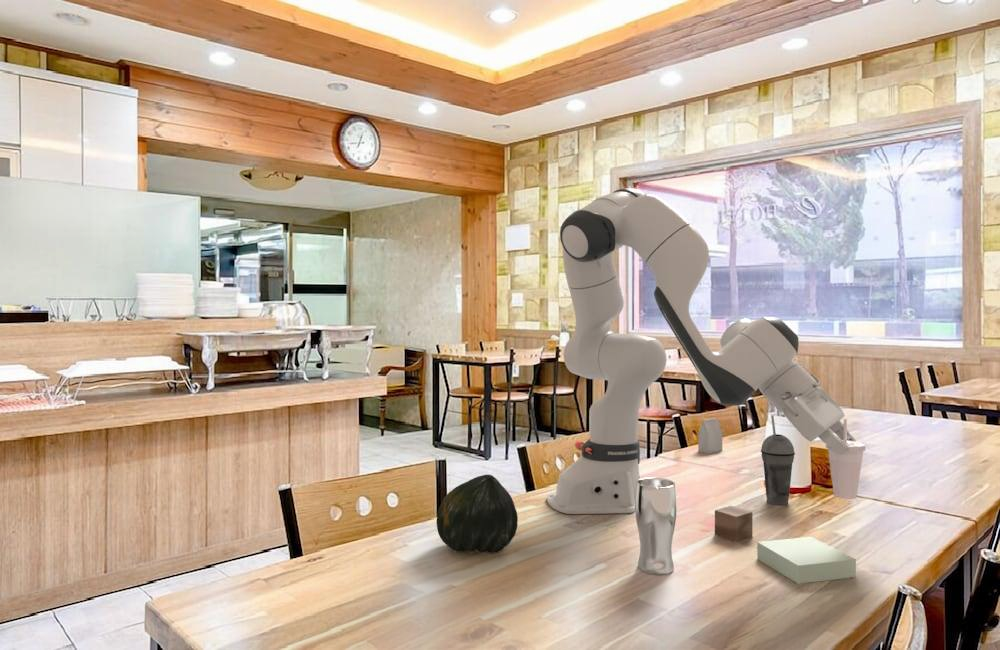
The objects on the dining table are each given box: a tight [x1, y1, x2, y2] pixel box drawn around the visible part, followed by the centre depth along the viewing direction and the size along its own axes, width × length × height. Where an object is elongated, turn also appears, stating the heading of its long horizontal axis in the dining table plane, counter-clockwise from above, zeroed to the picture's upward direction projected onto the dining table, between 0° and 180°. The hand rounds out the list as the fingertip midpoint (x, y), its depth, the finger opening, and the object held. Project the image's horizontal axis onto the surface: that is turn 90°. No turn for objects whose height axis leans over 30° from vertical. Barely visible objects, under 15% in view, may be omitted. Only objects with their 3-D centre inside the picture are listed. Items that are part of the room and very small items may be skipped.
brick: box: [714, 505, 754, 543], centre depth 130 cm, size 5×5×5 cm
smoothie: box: [825, 418, 866, 500], centre depth 120 cm, size 6×6×14 cm
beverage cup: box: [760, 414, 796, 506], centre depth 151 cm, size 7×7×20 cm
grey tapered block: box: [697, 417, 723, 454], centre depth 204 cm, size 4×7×10 cm, turn 125°
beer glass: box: [634, 477, 678, 576], centre depth 114 cm, size 7×7×15 cm
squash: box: [436, 474, 519, 554], centre depth 124 cm, size 14×15×15 cm
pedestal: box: [756, 536, 857, 584], centre depth 114 cm, size 11×11×3 cm
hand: (848, 448), depth 120 cm, fingers closed on smoothie, 6 cm apart
